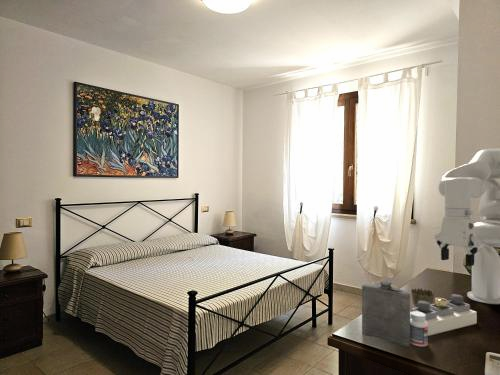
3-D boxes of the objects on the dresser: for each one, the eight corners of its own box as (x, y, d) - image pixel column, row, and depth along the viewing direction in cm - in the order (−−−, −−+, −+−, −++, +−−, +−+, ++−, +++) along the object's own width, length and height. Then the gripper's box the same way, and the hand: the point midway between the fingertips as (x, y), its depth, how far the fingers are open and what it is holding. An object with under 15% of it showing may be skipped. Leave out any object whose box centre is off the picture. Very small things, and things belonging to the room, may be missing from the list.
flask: (364, 329, 109) (364, 275, 109) (411, 342, 101) (411, 284, 100) (360, 334, 107) (360, 278, 106) (408, 347, 98) (409, 287, 97)
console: (451, 313, 122) (452, 297, 122) (476, 323, 114) (476, 306, 113) (404, 324, 113) (405, 307, 113) (427, 335, 105) (427, 317, 105)
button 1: (423, 307, 113) (423, 300, 113) (432, 311, 109) (432, 303, 109) (415, 309, 111) (415, 301, 111) (424, 313, 108) (424, 305, 108)
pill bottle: (427, 348, 97) (427, 318, 97) (407, 344, 100) (407, 315, 100) (428, 341, 102) (428, 312, 101) (409, 337, 104) (409, 309, 104)
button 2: (455, 300, 119) (455, 293, 119) (465, 304, 115) (465, 297, 115) (448, 302, 117) (448, 295, 117) (458, 305, 114) (458, 298, 114)
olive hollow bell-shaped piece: (436, 317, 119) (436, 295, 119) (414, 315, 120) (414, 294, 120) (429, 309, 126) (430, 288, 126) (409, 308, 128) (409, 287, 127)
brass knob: (439, 304, 116) (439, 296, 116) (449, 307, 112) (449, 299, 112) (432, 305, 114) (432, 297, 114) (441, 309, 111) (441, 301, 111)
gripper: (490, 215, 109) (489, 267, 109) (442, 210, 125) (442, 256, 125) (474, 216, 106) (474, 269, 107) (427, 211, 122) (427, 258, 123)
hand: (456, 262), depth 116 cm, fingers open, 8 cm apart
